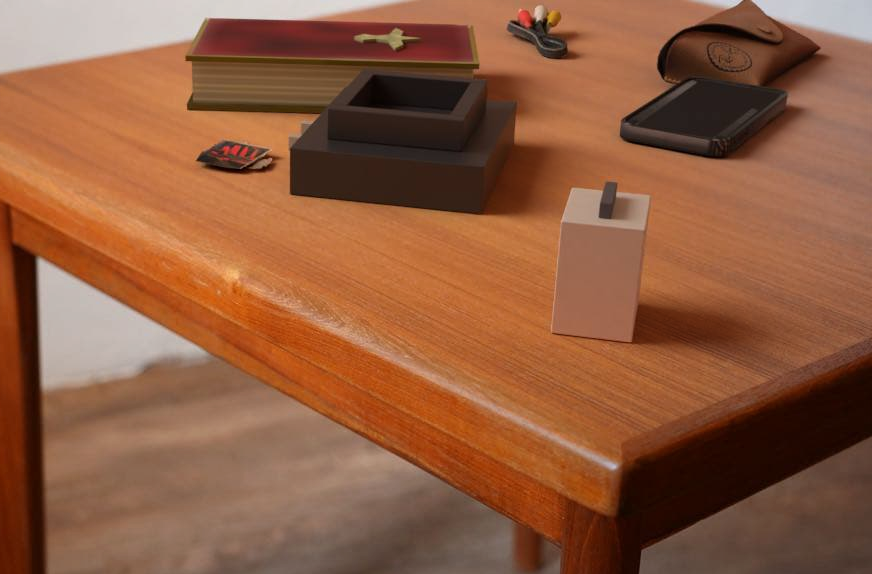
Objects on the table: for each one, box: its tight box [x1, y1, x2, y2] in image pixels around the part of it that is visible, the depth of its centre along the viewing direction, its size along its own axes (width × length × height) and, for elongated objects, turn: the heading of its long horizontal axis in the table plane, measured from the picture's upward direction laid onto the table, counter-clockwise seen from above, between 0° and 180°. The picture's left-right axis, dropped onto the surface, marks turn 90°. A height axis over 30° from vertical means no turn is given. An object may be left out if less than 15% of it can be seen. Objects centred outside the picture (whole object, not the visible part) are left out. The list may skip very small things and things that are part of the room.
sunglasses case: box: [656, 0, 822, 87], centre depth 117 cm, size 18×7×7 cm
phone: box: [619, 76, 789, 157], centre depth 104 cm, size 8×1×15 cm
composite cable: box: [505, 4, 569, 59], centre depth 123 cm, size 10×5×2 cm, turn 179°
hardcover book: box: [185, 17, 480, 114], centre depth 109 cm, size 12×21×4 cm, turn 87°
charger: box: [550, 181, 652, 343], centre depth 72 cm, size 4×5×7 cm
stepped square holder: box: [287, 69, 518, 215], centre depth 93 cm, size 14×14×5 cm
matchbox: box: [195, 139, 274, 170], centre depth 95 cm, size 5×5×1 cm
